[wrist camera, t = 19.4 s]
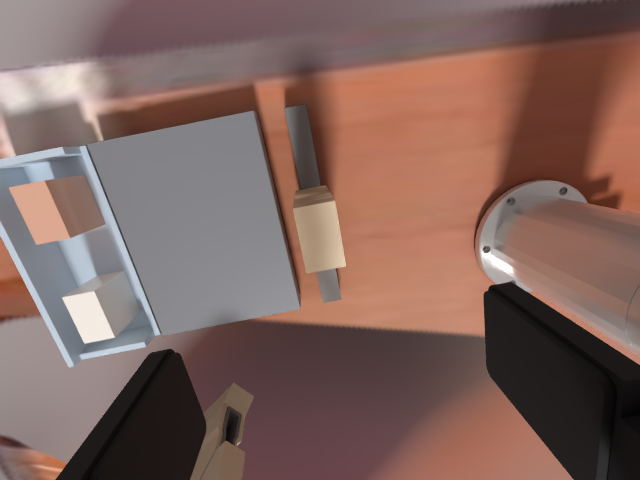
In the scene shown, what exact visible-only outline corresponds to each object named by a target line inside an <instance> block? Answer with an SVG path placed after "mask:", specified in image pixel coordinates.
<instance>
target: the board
mask: <svg viewBox="0 0 640 480" xmlns="http://www.w3.org/2000/svg"><path fill="white" fill-rule="evenodd" d="M87 146H88V148H89V151H90V153H91V156H92V158H93V161H94V163H95V166H96V168H97V171H98V174H99V176H100V179H101V181H102V184H103V186H104V189H105V191H106V194H107V196H108V199H109V201H110V204H111V206H112V209H113V211H114V214H115V216H116V219H117V221H118V224H119V226H120V229H121V232H122V234H123V237H124V239H125V242H126V244H127V247H128V249H129V252H130V254H131V257H132V259H133V262H134V264H135V267H136V269H137V272H138V274H139V277H140V279H141V282H142V284H143V287H144V290H145V292H146V295H147V297H148V300H149V302H150V305H151V307H152V310H153V312H154V315H155V317H156V320H157V322H158V325H159V327H160V330H161V332H162V335H163V336H166V335H171V334H177V333H182V332H187V331H192V330H196V329H202V328H207V327H212V326H217V325H222V324H227V323H232V322H237V321H242V320H248V319H253V318H258V317H263V316H268V315H273V314H278V313H283V312H288V311H293V310H298V309H300V303H301V298H300V293H299V289H298V285H297V281H296V276H295V272H294V268H293V264H292V259H291V255H290V251H289V246H288V242H287V238H286V234H285V229H284V225H283V221H282V217H281V212H280V208H279V204H278V200H277V195H276V191H275V187H274V182H273V178H272V174H271V170H270V165H269V161H268V157H267V153H266V148H265V144H264V140H263V136H262V131H261V127H260V123H259V118H258V114H257V113H256V112H255V111H249V112H244V113H239V114H234V115H229V116H224V117H219V118H214V119H209V120H204V121H199V122H194V123H189V124H184V125H180V126H175V127H170V128H165V129H160V130H155V131H150V132H145V133H140V134H135V135H130V136H125V137H120V138H115V139H110V140H105V141H100V142H96V143H91V144H87Z"/></svg>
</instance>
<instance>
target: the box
mask: <svg viewBox="0 0 640 480" xmlns="http://www.w3.org/2000/svg"><path fill="white" fill-rule="evenodd" d="M82 175H86V177H87V180H88V182H89V185H90V187H91V189H92V192H93V194H94V197H95V199H96V202H97V204H98V207H99V209H100V212H101V214H102V216H103V219H104V221H105V225H102V226H100V227H97V228H95V229H92V230H90V231H87V232H85V233H82V234H80V235H77V236H75V237H72V238H69V239H64V240H59V241H54V242H49V243H43V244H38V245H36V243H35V241H34V239H33V237H32V235H31V233H30V231H29V229H28V227H27V225H26V223H25V220H24V218H23V216H22V214H21V212H20V210H19V208H18V206H17V204H16V202H15V200H14V198H13V196H12V194H11V192H10V190H9V187H14V186H19V185H24V184H29V183H34V182H39V181H44V180H51V179H59V178H66V177H74V176H82ZM0 236H1V238H2V240H3V242H4V244H5V246H6V247H7V249H8V251H9V253H10V255H11V257H12V259H13V261H14V263H15V265H16V267H17V269H18V271H19V273H20V274H21V276H22V278H23V280H24V282H25V284H26V286H27V288H28V290H29V292H30V294H31V296H32V298H33V299H34V301H35V303H36V305H37V307H38V309H39V311H40V313H41V315H42V317H43V319H44V321H45V323H46V324H47V326H48V328H49V330H50V332H51V334H52V336H53V338H54V340H55V342H56V344H57V346H58V348H59V350H60V351H61V353H62V355H63V357H64V359H65V361H66V363H67V365H68V367H73V366H75V365H76V364H77V363H78V362H79V361H80V360H82V359H87V358H92V357H97V356H102V355H107V354H112V353H117V352H123V351H127V350H133V349H138V348H143V347H146V346H147V345H148V344H149V343H150V341H151V340H152V339H153V337H154V336H155V335H160V334H161V333H162V332H161V330H160V327H159V325H158V322H157V320H156V317H155V315H154V312H153V310H152V307H151V305H150V302H149V300H148V297H147V295H146V292H145V290H144V287H143V284H142V282H141V279H140V277H139V274H138V272H137V269H136V267H135V264H134V262H133V259H132V257H131V254H130V252H129V249H128V247H127V244H126V242H125V239H124V237H123V234H122V232H121V229H120V226H119V224H118V221H117V219H116V216H115V214H114V211H113V209H112V206H111V204H110V201H109V199H108V196H107V194H106V191H105V189H104V186H103V184H102V181H101V179H100V176H99V174H98V171H97V168H96V166H95V163H94V161H93V158H92V156H91V153H90V151H89V148H88V146H87V145H85V146H80V147H58V148H53V149H48V150H43V151H39V152H34V153H29V154H24V155H19V156H14V157H9V158H4V159H0ZM123 270H125V273H126V275H127V278H128V280H129V283H130V285H131V288H132V290H133V292H134V295H135V297H136V300H137V302H138V305H139V307H140V310H141V312H140V313H139V314H138V315H137V316H136V317H135V318H134V319H133V320H132V321H131V322H130V323H129V324H128V325H127V326H126V327H125V328H124V329H123V330H122V331H121V332H120V333H119V334H118V335H117V336H116V337H115V338H111V339H106V340H101V341H96V342H91V343H86V344H84V342H83V340H82V338H81V336H80V334H79V332H78V330H77V327H76V325H75V323H74V321H73V319H72V317H71V315H70V313H69V311H68V309H67V307H66V305H65V303H64V301H63V299H62V297H64V296H65V295H67V294H68V293H70V292H72V291H73V290H75V289H76V288H78V287H80V286H81V285H83V284H84V283H86V282H88V281H89V280H91V279H92V278H94V277H96V276H98V275H103V274H108V273H113V272H118V271H123Z"/></svg>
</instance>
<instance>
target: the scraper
mask: <svg viewBox="0 0 640 480" xmlns="http://www.w3.org/2000/svg"><path fill="white" fill-rule="evenodd" d="M284 109H285V114H286V119H287V124H288V129H289V134H290V139H291V144H292V149H293V154H294V159H295V164H296V169H297V174H298V179H299V184H300V189H301V190H298V191H296V192H295V198H294V204H293V212H294V217H295V222H296V227H297V231H298V236H299V241H300V246H301V250H302V255H303V260H304V265H305V269H306V274H308V273H313V272H317V274H318V279H319V284H320V289H321V294H322V299H323V303H326V302H331V301H336V300H341V295H340V289H339V284H338V278H337V273H336V268H339V267H345V266H346V263H345V257H344V251H343V245H342V239H341V234H340V228H339V222H338V216H337V210H336V204H335V200H334V198H333V196H332V195H331V193H330V191H329V190H328V188H327V186H326V185H324V186H321V184H320V178H319V173H318V167H317V162H316V156H315V150H314V145H313V139H312V134H311V128H310V123H309V117H308V112H307V106H306V104H304V105H298V106H293V107H288V108H284Z"/></svg>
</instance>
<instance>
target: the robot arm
mask: <svg viewBox="0 0 640 480" xmlns="http://www.w3.org/2000/svg"><path fill="white" fill-rule="evenodd" d="M475 252H476V257H477V261H478V263H479V266H480V268H481V269H482V271H483V272H484V273H485V275H486V276H487V277H488V278H490V279H491V280H492V281H493V282H495V283H496V285H491V286H490V287H489V289H488V291H486V292H485V293H484V318H485V342H486V366H487V370H488V373H489V374H490V377H491V378H492V379H493V380H494V382H495V383H496V384H497V385H498V387H499V388H500V389H501V390H502V392H503V393H504V394H505V395H506V397H507V398H508V399H509V400H510V402H511V403H512V404H513V405H514V406H515V408H516V409H517V410H518V411H519V413H520V414H521V415H522V416H523V418H524V419H525V420H526V421H527V422H528V424H529V425H530V426H531V427H532V429H533V430H534V431H535V432H536V433H537V435H538V436H539V437H540V438H541V440H542V441H543V442H544V443H545V445H546V446H547V447H548V448H549V450H550V451H551V452H552V453H553V454H554V456H555V457H556V458H557V459H558V461H559V462H560V463H561V464H562V466H563V467H564V468H565V469H566V470H567V472H568V473H569V474H570V475H571V477H572V478H573V479H574V480H640V365H639V364H637V363H636V362H634V361H633V360H631V359H629V358H628V357H626V356H625V355H623V354H622V353H620V352H619V351H617V350H616V349H614V348H613V347H611V346H609V345H608V344H606V343H605V342H603V341H602V340H600V339H599V338H597V337H596V336H594V335H593V334H591V333H589V332H588V331H586V330H585V329H583V328H582V327H580V326H579V325H577V324H576V323H574V322H573V321H571V320H570V319H568V318H566V317H565V316H563V315H562V314H560V313H559V312H557V311H556V310H554V309H553V308H551V307H550V306H548V305H546V304H545V303H543V302H542V301H540V300H539V299H537V298H536V297H534V296H533V295H531V294H530V293H528V292H531V291H535V292H537V293H538V294H540V295H541V296H543V297H545V298H546V299H548V300H549V301H551V302H553V303H554V304H556V305H557V306H559V307H561V308H562V309H564V310H565V311H567V312H569V313H570V314H572V315H573V316H575V317H577V318H578V319H580V320H581V321H583V322H585V323H586V324H588V325H589V326H591V327H593V328H594V329H596V330H597V331H599V332H601V333H602V334H604V335H605V336H607V337H608V338H610V339H612V340H613V341H615V342H616V343H618V344H620V345H621V346H623V347H624V348H626V349H628V350H629V351H631V352H632V353H634V354H636V355H637V356H639V357H640V214H639V213H634V212H629V211H624V210H619V209H614V208H609V207H604V206H599V205H594V204H589V203H588V202H587V200H586V199H585V197H584V196H583V195H582V194H581V193H580V192H579V191H578V190H577V189H575V188H574V187H572V186H570V185H568V184H565V183H562V182H559V181H552V180H534V181H529V182H525V183H522V184H520V185H517V186H515V187H513V188H511V189H510V190H508V191H506V192H505V193H504V194H502V195H501V196H500V197H499V198H498V199H496V200H495V201H494V203H493V204H492V205H491V206H490V207H489V208H488V210H487V211H486V213H485V214H484V216H483V218H482V219H481V222H480V224H479V227H478V229H477V234H476V239H475ZM206 429H207V425H206V420H205V417H204V414H203V412H202V409H201V407H200V404H199V401H198V399H197V396H196V394H195V391H194V388H193V386H192V383H191V381H190V378H189V376H188V373H187V370H186V368H185V365H184V363H183V360H182V357H181V355H180V354H179V353H175V352H174V351H173V350H172V349H167V350H162V351H157V352H152V353H150V354H149V355H148V356H147V358H146V359H145V360H144V362H143V363H142V364H141V366H140V367H139V368H138V370H137V371H136V372H135V374H134V375H133V376H132V378H131V379H130V380H129V382H128V383H127V384H126V386H125V387H124V389H123V390H122V391H121V393H120V394H119V395H118V396H117V398H116V399H115V400H114V402H113V403H112V405H111V406H110V407H109V409H108V410H107V411H106V413H105V414H104V415H103V417H102V418H101V419H100V421H99V422H98V423H97V425H96V426H95V428H94V429H93V430H92V431H91V433H90V434H89V435H88V437H87V438H86V440H85V441H84V442H83V444H82V445H81V446H80V448H79V449H78V450H77V452H76V453H75V454H74V456H73V457H72V458H71V460H70V461H69V462H68V464H67V465H66V466H65V468H64V469H63V470H62V472H61V473H60V474H59V476H58V477H57V479H56V480H190V479H191V476H192V473H193V470H194V467H195V464H196V461H197V458H198V455H199V452H200V449H201V446H202V443H203V440H204V438H205V434H206Z"/></svg>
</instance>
